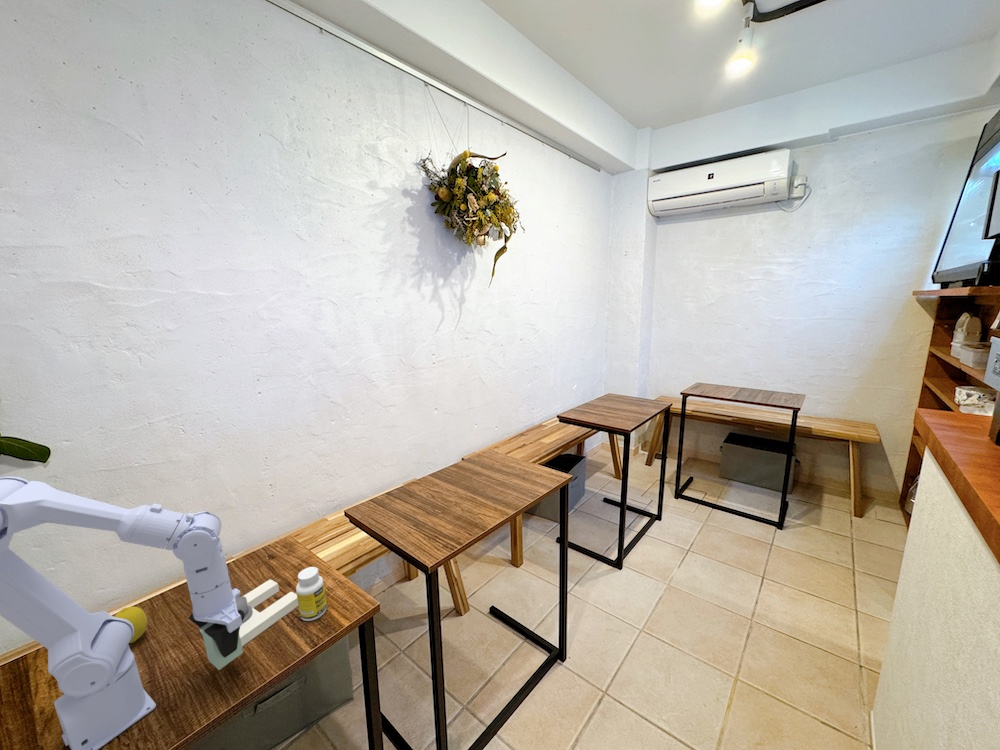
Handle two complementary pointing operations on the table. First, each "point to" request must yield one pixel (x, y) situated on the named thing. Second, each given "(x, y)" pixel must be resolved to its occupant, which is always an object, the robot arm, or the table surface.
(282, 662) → the table surface
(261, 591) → the notched board
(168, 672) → the table surface
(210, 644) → the block
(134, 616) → the lemon
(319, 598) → the supplement bottle
